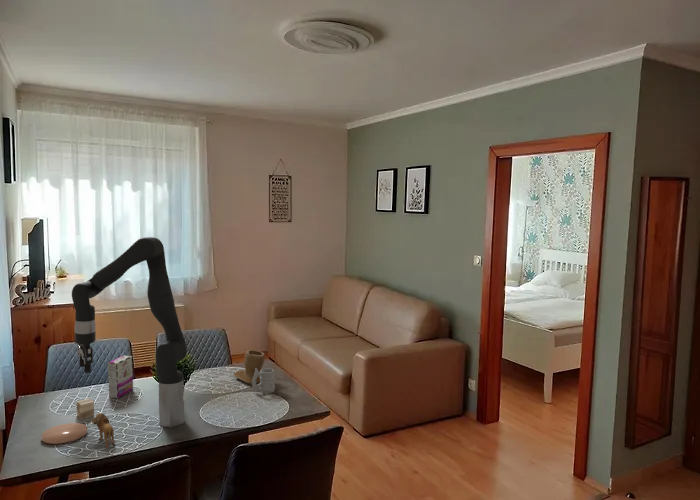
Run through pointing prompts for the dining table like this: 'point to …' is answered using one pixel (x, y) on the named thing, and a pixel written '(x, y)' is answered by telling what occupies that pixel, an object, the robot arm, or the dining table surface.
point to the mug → (264, 380)
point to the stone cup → (251, 366)
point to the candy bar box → (120, 376)
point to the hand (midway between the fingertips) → (85, 369)
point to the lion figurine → (104, 428)
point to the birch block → (85, 408)
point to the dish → (64, 433)
